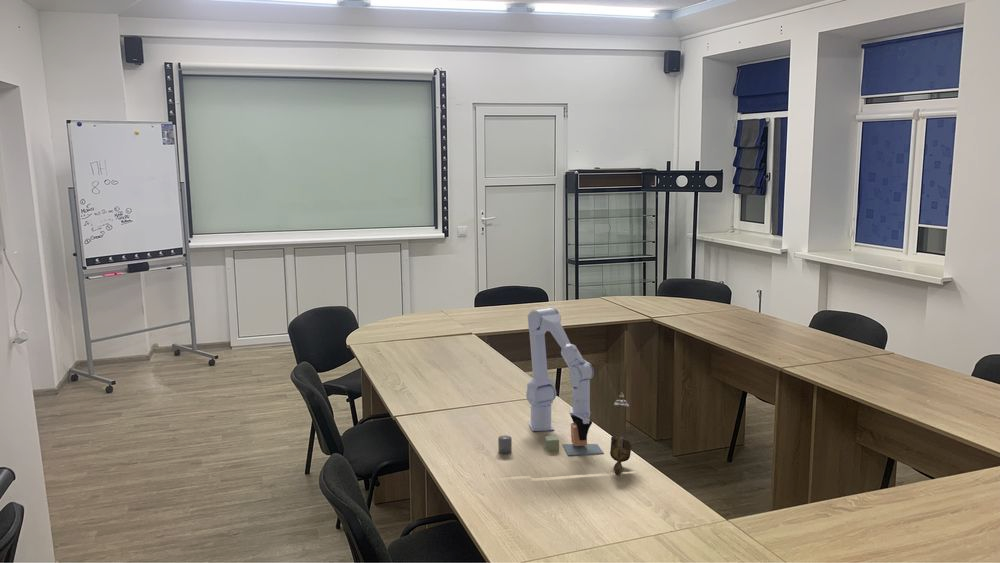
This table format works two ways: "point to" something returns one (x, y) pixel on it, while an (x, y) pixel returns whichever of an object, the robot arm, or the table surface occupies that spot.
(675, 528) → the table surface
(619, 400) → the house of cards
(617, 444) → the brown piece
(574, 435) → the terracotta block
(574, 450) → the slate mat
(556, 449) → the olive cube
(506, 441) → the dark grey cylinder
